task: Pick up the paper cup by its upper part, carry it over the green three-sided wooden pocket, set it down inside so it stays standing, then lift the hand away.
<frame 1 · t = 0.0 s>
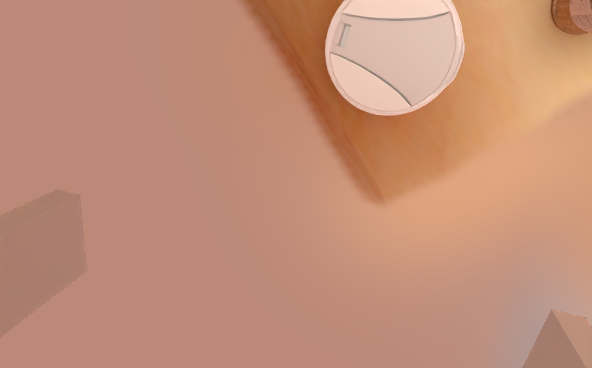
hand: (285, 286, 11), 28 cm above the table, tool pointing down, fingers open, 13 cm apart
paper cup: (391, 45, 34), on the table
sprinkles bottle: (581, 4, 30), on the table
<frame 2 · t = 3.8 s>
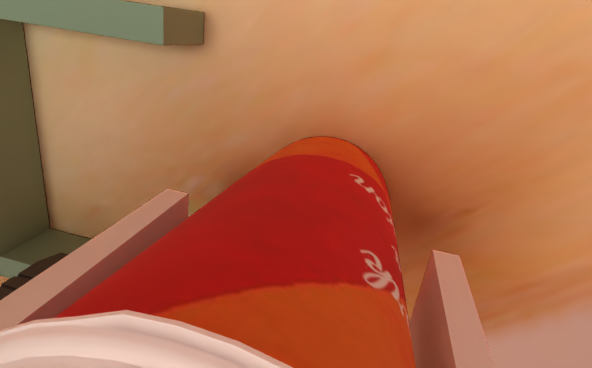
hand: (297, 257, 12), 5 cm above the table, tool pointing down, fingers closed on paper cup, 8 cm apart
paper cup: (324, 194, 17), on the table, touching gripper
green pocket: (103, 147, 19), on the table
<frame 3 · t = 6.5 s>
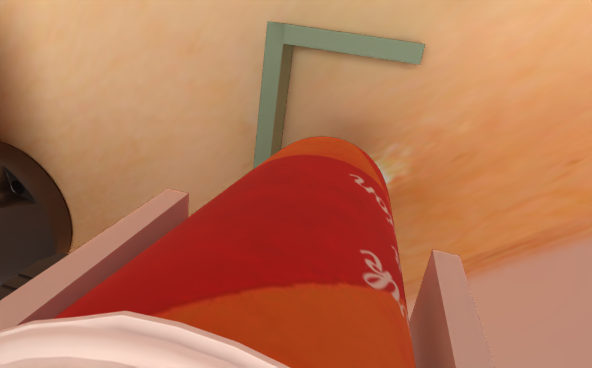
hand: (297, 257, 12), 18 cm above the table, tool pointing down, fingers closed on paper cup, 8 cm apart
paper cup: (324, 194, 17), point 13 cm above the table, touching gripper
green pocket: (332, 126, 29), on the table
when the fingers open (6 cm above the table, at t = 9.4 s): paper cup stays where it is, on the table.
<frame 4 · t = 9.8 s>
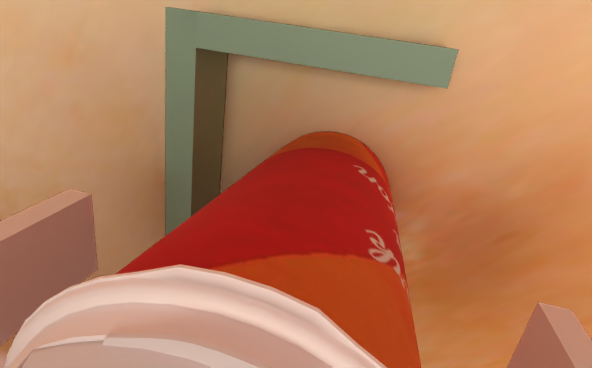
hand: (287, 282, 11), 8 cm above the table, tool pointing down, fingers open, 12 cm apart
paper cup: (328, 186, 18), on the table
green pocket: (296, 181, 18), on the table
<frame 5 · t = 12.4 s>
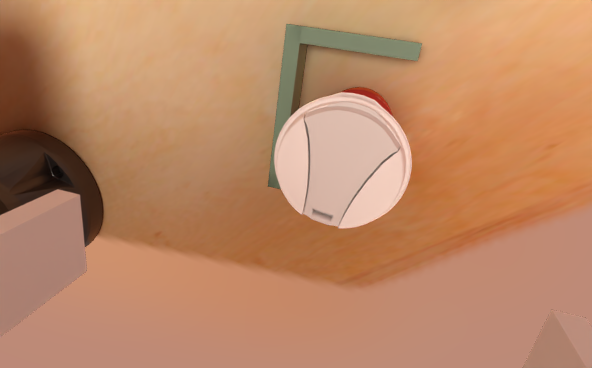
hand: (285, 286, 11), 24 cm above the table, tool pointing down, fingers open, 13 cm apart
paper cup: (358, 118, 33), on the table
green pocket: (340, 115, 33), on the table
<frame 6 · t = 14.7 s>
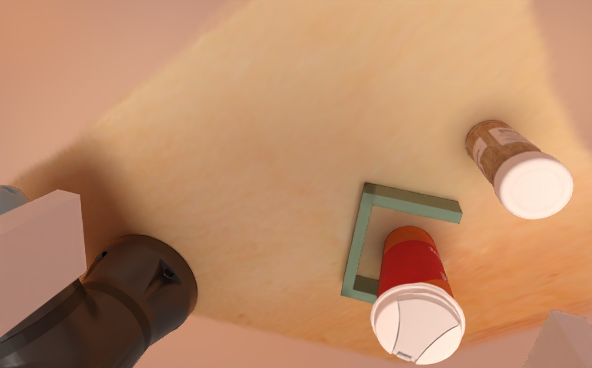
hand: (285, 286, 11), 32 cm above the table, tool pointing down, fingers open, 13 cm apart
paper cup: (409, 246, 44), on the table
sprinkles bottle: (489, 141, 38), on the table
green pocket: (396, 244, 44), on the table
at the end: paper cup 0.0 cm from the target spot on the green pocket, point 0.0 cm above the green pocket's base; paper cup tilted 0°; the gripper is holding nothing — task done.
